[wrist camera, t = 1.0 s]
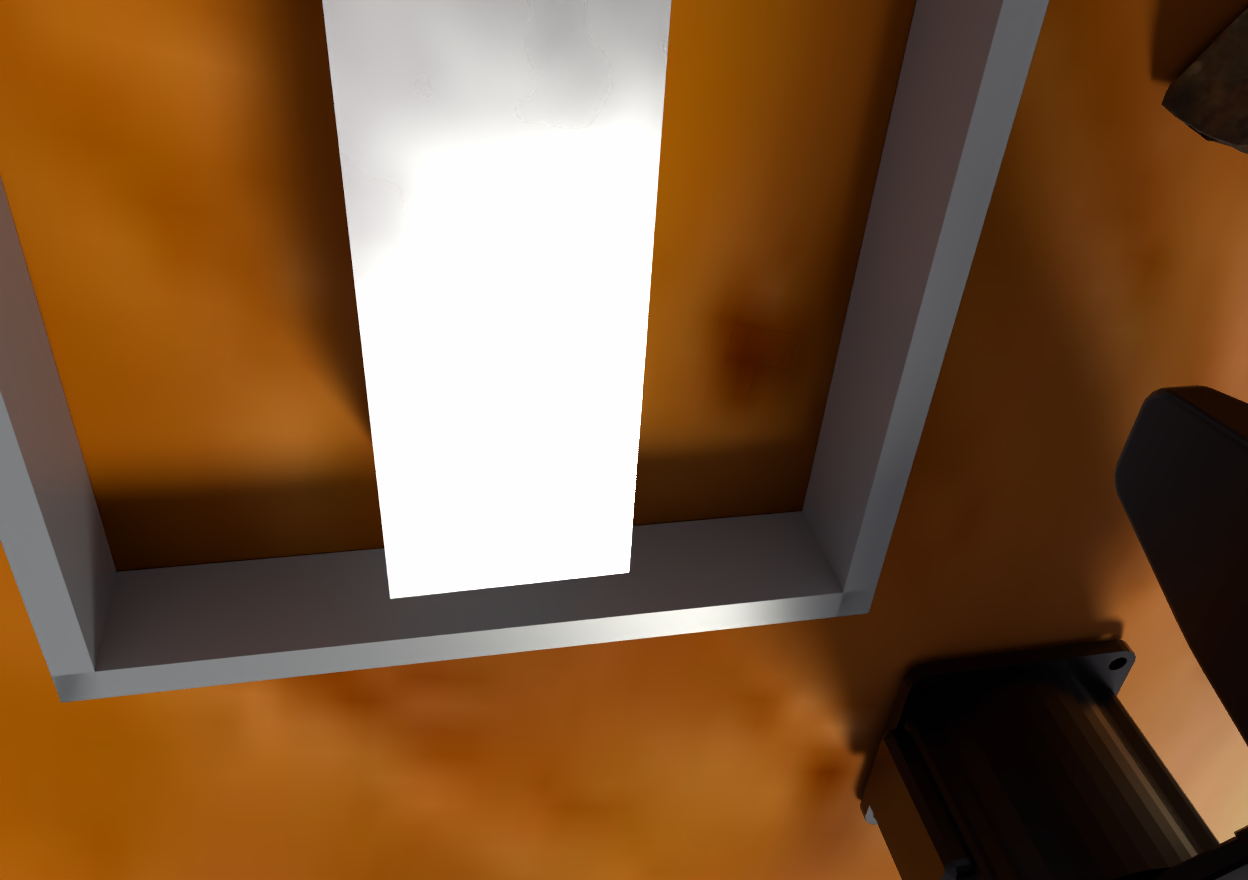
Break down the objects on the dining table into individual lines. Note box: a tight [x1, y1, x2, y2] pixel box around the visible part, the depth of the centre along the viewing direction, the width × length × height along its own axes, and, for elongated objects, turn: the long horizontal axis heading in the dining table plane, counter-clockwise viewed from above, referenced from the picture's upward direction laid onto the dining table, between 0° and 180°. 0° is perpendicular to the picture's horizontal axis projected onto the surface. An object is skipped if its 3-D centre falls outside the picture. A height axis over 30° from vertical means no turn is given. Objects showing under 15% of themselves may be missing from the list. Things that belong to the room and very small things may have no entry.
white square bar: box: [322, 0, 671, 599], centre depth 15 cm, size 4×16×4 cm, turn 177°
